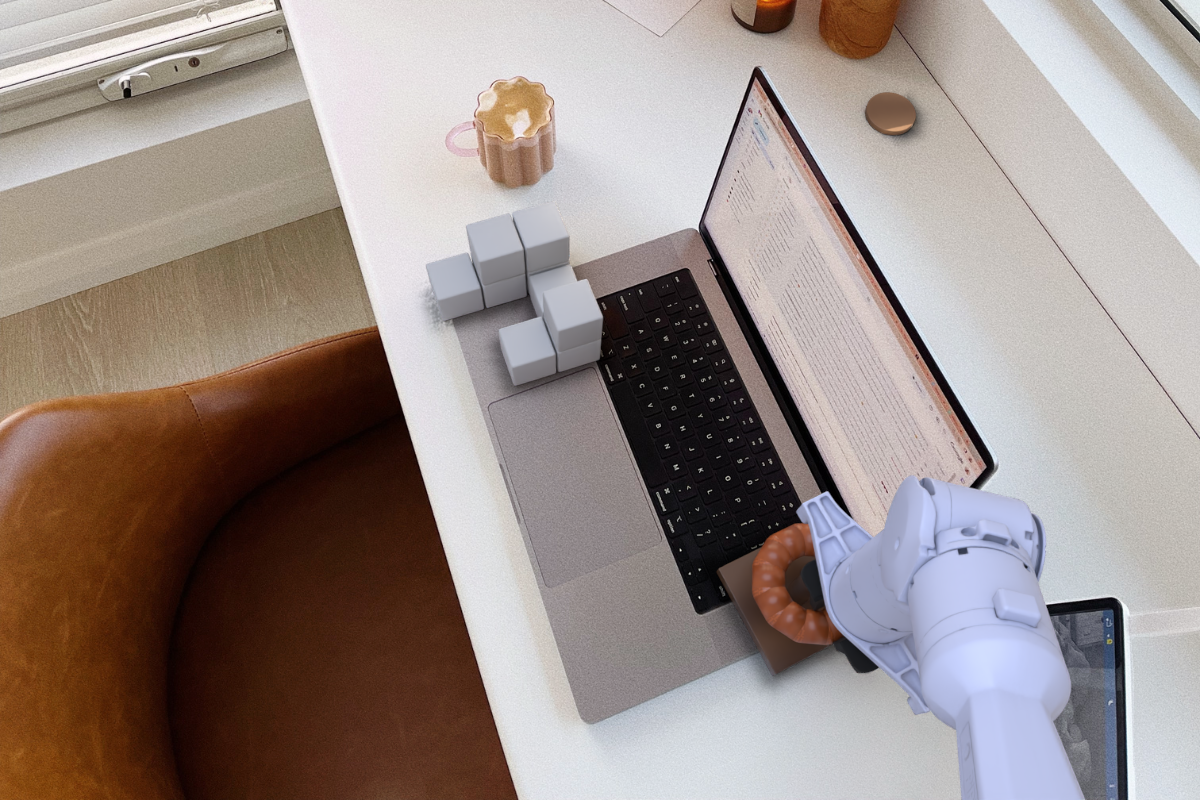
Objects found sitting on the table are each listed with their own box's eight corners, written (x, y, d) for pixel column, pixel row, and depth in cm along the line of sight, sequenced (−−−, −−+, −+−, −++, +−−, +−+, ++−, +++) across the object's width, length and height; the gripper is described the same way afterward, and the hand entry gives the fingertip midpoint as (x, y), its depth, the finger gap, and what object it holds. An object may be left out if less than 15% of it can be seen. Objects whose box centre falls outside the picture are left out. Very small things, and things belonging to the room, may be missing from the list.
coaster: (923, 125, 92) (925, 121, 91) (882, 142, 91) (884, 138, 90) (896, 89, 94) (898, 85, 93) (855, 105, 93) (857, 101, 92)
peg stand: (870, 624, 72) (900, 608, 66) (772, 676, 70) (793, 664, 64) (811, 524, 75) (834, 499, 69) (716, 571, 73) (731, 550, 67)
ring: (889, 613, 68) (900, 607, 65) (787, 667, 66) (794, 663, 64) (827, 510, 71) (835, 501, 68) (728, 558, 69) (733, 551, 67)
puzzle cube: (430, 286, 83) (417, 237, 75) (556, 249, 85) (555, 198, 77) (469, 401, 78) (459, 361, 71) (600, 360, 80) (603, 317, 73)
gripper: (1027, 667, 52) (937, 690, 64) (887, 449, 57) (829, 510, 69) (924, 724, 50) (853, 737, 63) (790, 496, 55) (749, 550, 68)
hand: (835, 621), depth 66 cm, fingers closed on ring, 2 cm apart
